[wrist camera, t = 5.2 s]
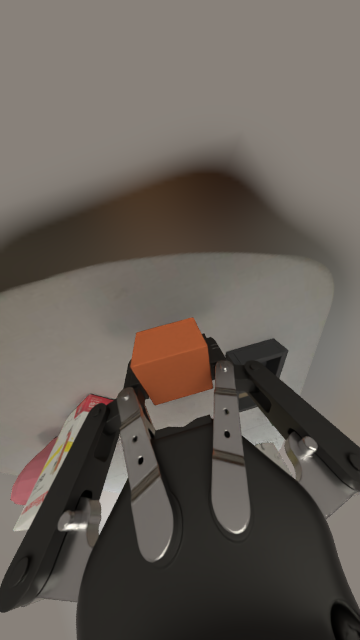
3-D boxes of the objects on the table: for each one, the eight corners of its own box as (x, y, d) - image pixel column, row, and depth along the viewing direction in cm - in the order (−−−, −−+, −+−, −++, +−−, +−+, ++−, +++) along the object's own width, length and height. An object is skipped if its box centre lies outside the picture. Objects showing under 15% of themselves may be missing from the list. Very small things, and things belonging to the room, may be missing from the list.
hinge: (245, 450, 59) (260, 485, 51) (250, 444, 57) (268, 481, 48) (269, 445, 63) (288, 477, 54) (276, 440, 60) (296, 473, 52)
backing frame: (273, 338, 24) (288, 350, 21) (262, 389, 33) (271, 402, 31) (226, 352, 24) (235, 366, 21) (227, 400, 33) (234, 414, 30)
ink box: (89, 392, 23) (41, 512, 13) (116, 399, 25) (93, 506, 15) (65, 417, 25) (8, 536, 15) (92, 421, 27) (58, 527, 17)
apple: (88, 445, 32) (66, 519, 23) (42, 447, 29) (-2, 534, 20) (93, 424, 28) (67, 505, 19) (40, 425, 25) (-17, 521, 16)
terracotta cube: (193, 316, 13) (207, 345, 9) (200, 356, 16) (213, 388, 12) (136, 332, 12) (129, 367, 9) (154, 369, 15) (154, 406, 12)
